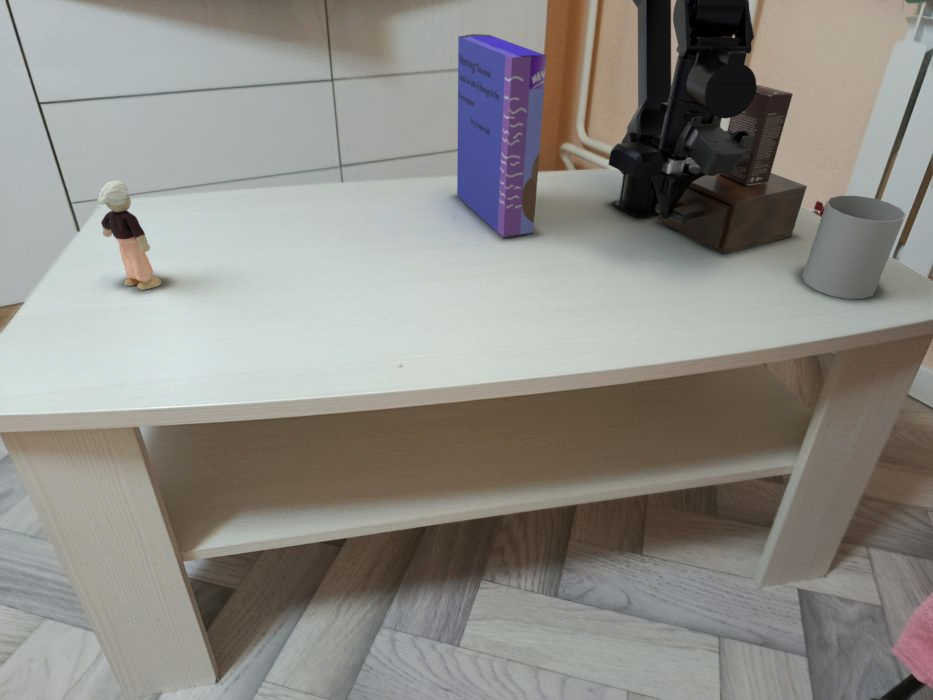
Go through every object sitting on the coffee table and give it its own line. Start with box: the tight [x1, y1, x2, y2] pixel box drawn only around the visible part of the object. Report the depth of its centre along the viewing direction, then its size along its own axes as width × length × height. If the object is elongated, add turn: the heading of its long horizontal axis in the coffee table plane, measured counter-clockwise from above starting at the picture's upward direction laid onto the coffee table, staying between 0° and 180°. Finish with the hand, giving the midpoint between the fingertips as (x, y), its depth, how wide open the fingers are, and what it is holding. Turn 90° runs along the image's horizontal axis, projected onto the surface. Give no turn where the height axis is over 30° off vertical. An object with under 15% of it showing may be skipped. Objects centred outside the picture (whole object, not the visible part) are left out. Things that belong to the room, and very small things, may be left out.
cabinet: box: [660, 172, 808, 255], centre depth 96 cm, size 14×13×8 cm
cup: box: [801, 195, 906, 300], centre depth 81 cm, size 8×8×10 cm
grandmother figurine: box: [97, 179, 162, 291], centre depth 78 cm, size 8×4×13 cm, turn 71°
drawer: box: [655, 187, 731, 248], centre depth 94 cm, size 17×11×6 cm
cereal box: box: [456, 33, 547, 239], centre depth 95 cm, size 17×5×24 cm, turn 23°
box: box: [721, 84, 794, 186], centre depth 91 cm, size 6×4×12 cm
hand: (664, 217), depth 91 cm, fingers closed, pressing on drawer
